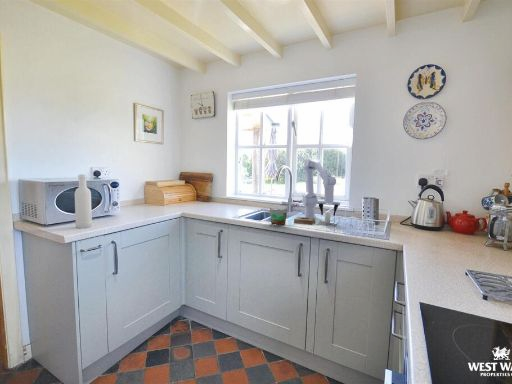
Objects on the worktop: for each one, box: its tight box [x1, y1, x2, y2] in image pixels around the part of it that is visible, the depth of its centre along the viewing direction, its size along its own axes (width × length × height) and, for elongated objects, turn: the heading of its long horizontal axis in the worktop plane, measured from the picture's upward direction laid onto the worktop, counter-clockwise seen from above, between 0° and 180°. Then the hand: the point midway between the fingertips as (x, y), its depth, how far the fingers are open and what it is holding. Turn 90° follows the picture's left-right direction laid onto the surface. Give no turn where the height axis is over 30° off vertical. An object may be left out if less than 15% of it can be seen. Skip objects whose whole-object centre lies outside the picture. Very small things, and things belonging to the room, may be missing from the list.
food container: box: [269, 207, 289, 226], centre depth 166 cm, size 12×6×10 cm, turn 62°
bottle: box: [74, 174, 93, 229], centre depth 148 cm, size 8×8×30 cm
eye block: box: [293, 216, 316, 225], centre depth 176 cm, size 12×12×2 cm
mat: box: [316, 220, 338, 227], centre depth 172 cm, size 14×12×1 cm
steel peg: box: [324, 210, 332, 224], centre depth 172 cm, size 3×4×8 cm
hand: (328, 215), depth 172 cm, fingers open, 7 cm apart
